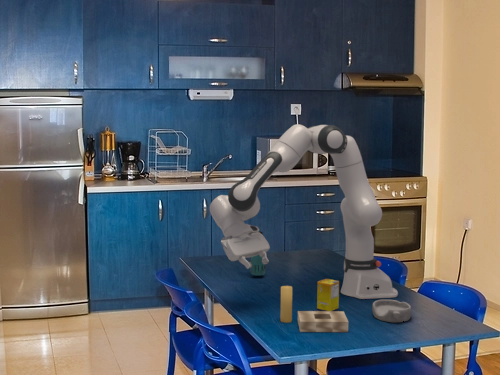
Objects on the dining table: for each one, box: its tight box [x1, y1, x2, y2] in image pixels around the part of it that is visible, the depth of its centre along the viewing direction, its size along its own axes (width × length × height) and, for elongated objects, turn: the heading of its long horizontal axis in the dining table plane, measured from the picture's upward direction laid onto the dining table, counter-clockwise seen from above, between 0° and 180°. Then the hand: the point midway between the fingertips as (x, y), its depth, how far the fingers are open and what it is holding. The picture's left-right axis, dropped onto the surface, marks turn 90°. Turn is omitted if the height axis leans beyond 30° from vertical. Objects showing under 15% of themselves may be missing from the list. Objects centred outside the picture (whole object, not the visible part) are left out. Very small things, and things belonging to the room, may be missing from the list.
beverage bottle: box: [250, 230, 266, 276], centre depth 311 cm, size 6×7×20 cm
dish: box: [371, 299, 412, 323], centre depth 256 cm, size 14×14×5 cm
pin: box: [279, 285, 293, 324], centre depth 250 cm, size 4×4×12 cm
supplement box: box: [316, 278, 340, 311], centre depth 263 cm, size 6×6×11 cm
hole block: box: [297, 310, 349, 333], centre depth 245 cm, size 16×12×4 cm
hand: (258, 265), depth 257 cm, fingers open, 8 cm apart
